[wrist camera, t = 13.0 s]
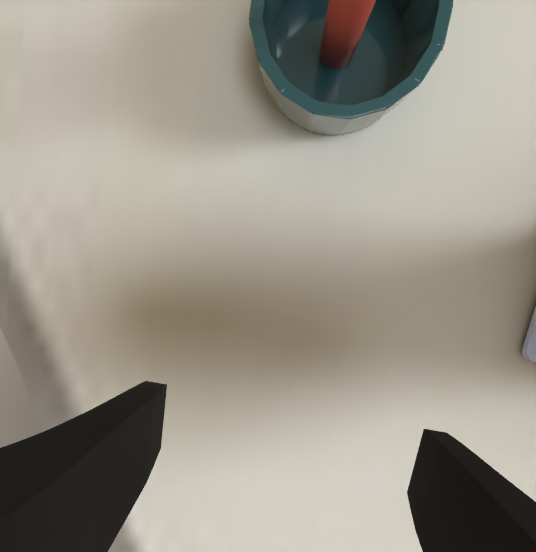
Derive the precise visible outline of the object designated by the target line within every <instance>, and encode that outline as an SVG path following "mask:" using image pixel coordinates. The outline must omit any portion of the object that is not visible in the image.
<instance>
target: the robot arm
mask: <svg viewBox="0 0 536 552" xmlns="http://www.w3.org/2000/svg"><path fill="white" fill-rule="evenodd" d="M522 354H523V356H524V357H525V358H526V359H528V360H529V361H532V362H536V306H535V310H534V313H533V316H532V319H531V322H530V326H529V329H528V332H527V335H526V339H525V342H524V345H523V348H522ZM166 389H167V385H166V384H160V383H154V382H148V381H145V382H143V383H141V384H139V385H137V386H135V387H133V388H131V389H129V390H127V391H125V392H124V393H122V394H120V395H118V396H116V397H114V398H112V399H111V400H109V401H107V402H105V403H103V404H101V405H99V406H97V407H95V408H93V409H92V410H90V411H88V412H85V413H83V414H81V415H79V416H77V417H75V418H73V419H71V420H68V421H66V422H64V423H62V424H60V425H58V426H56V427H54V428H51V429H49V430H47V431H44V432H42V433H39V434H37V435H34V436H32V437H29V438H27V439H24V440H21V441H19V442H16V443H13V444H11V445H8V446H5V447H2V448H0V552H108V550H109V548H110V547H111V545H112V543H113V541H114V539H115V538H116V536H117V534H118V532H119V531H120V529H121V527H122V525H123V524H124V522H125V520H126V518H127V517H128V515H129V513H130V511H131V509H132V508H133V506H134V504H135V502H136V501H137V499H138V497H139V495H140V493H141V492H142V490H143V488H144V486H145V484H146V482H147V480H148V478H149V475H150V473H151V471H152V468H153V466H154V464H155V461H156V459H157V456H158V454H159V451H160V449H161V439H162V429H163V419H164V409H165V399H166ZM407 494H408V499H409V503H410V508H411V513H412V517H413V521H414V525H415V529H416V533H417V536H418V539H419V542H420V544H421V547H422V550H423V552H536V502H535V501H534V500H532V499H531V498H530V497H529V496H527V495H526V494H525V493H523V492H522V491H521V490H519V489H518V488H517V487H516V486H514V485H513V484H512V483H511V482H509V481H508V480H507V479H506V478H504V477H503V476H502V475H501V474H499V473H498V472H497V471H496V470H494V469H493V468H492V467H491V466H489V465H488V464H487V463H486V462H484V461H483V460H482V459H481V458H479V457H478V456H477V455H476V454H474V453H473V452H472V451H471V450H469V449H468V448H467V447H466V446H464V445H463V444H462V443H460V442H459V441H458V440H456V439H455V438H454V437H452V436H451V435H449V434H448V433H445V432H439V431H433V430H428V429H424V431H423V435H422V438H421V442H420V446H419V450H418V453H417V457H416V461H415V465H414V469H413V472H412V476H411V480H410V484H409V487H408V491H407Z"/></svg>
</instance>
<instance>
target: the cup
mask: <svg viewBox="0 0 536 552" xmlns="http://www.w3.org/2000/svg"><path fill="white" fill-rule="evenodd" d="M328 2H329V0H251V8H250V16H249V21H250V22H249V24H250V28H251V33H252V37H253V41H254V45H255V50H256V54H257V58H258V62H259V66H260V69H261V73H262V76H263V80H264V83H265V87H266V89H267V92H268V93H269V94H270V96H271V98H272V100H273V101H274V103H275V105H276V106H277V107H278V108H279V110H280V111H281V112H282V113H283V114H284V115H285V116H286V117H287V118H288V119H289V120H290V121H292V122H293V123H295V124H296V125H298V126H300V127H301V128H303V129H305V130H308V131H311V132H313V133H318V134H323V135H343V134H348V133H352V132H355V131H358V130H361V129H363V128H367V127H368V126H370V125H371V124H373V123H374V122H375V121H377V120H378V119H380V118H381V117H382V116H383V115H385V114H386V113H387V112H389V111H390V110H391V109H393V108H394V107H395V106H396V105H397V104H398V103H399V102H400V101H402V100H403V99H404V98H405V97H406V96H407V95H408V94H410V93H411V92H412V91H413V90H414V89H415V88H416V87H418V86H419V84H420V83H421V82H422V81H423V79H424V78H425V76H426V74H427V73H428V71H429V70H430V68H431V67H432V65H433V63H434V62H435V60H436V59H437V57H438V56H439V54H440V52H441V51H442V49H443V46H444V44H445V39H446V35H447V30H448V26H449V21H450V17H451V12H452V8H453V0H376V2H375V4H374V6H373V9H372V11H371V14H370V16H369V18H368V21H367V23H366V26H365V28H364V30H363V33H362V35H361V38H360V40H359V42H358V45H357V47H356V50H355V52H354V54H353V57H352V59H351V61H350V62H349V63H348V64H347V65H346V66H345V67H343V68H341V69H331V68H329V67H327V66H326V65H325V64H324V63H323V61H322V59H321V56H320V48H321V43H322V37H323V31H324V25H325V19H326V13H327V8H328Z"/></svg>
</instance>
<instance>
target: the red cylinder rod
mask: <svg viewBox="0 0 536 552" xmlns="http://www.w3.org/2000/svg"><path fill="white" fill-rule="evenodd" d="M375 2H376V0H329V2H328V8H327V13H326V19H325V25H324V31H323V37H322V43H321V48H320V56H321V59H322V61H323V63H324V64H325V65H326V66H327V67H329V68H331V69H341V68H343V67H345V66H346V65H347V64H348V63H349V62H350V61H351V59H352V57H353V54H354V52H355V50H356V47H357V45H358V42H359V40H360V38H361V35H362V33H363V30H364V28H365V26H366V23H367V21H368V18H369V16H370V14H371V11H372V9H373V6H374V4H375Z"/></svg>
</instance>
